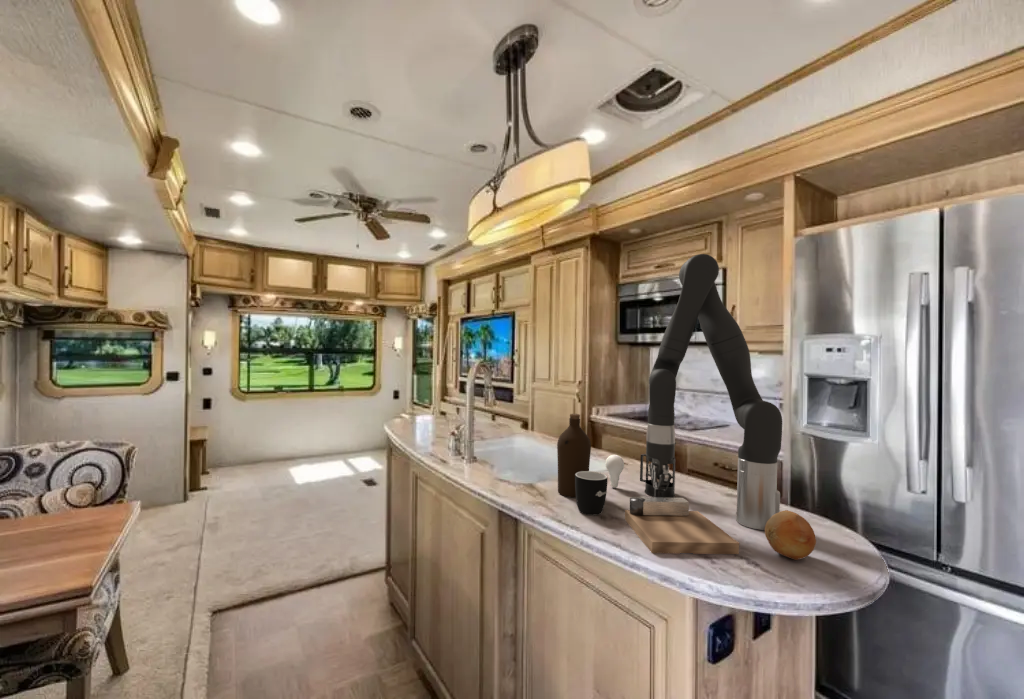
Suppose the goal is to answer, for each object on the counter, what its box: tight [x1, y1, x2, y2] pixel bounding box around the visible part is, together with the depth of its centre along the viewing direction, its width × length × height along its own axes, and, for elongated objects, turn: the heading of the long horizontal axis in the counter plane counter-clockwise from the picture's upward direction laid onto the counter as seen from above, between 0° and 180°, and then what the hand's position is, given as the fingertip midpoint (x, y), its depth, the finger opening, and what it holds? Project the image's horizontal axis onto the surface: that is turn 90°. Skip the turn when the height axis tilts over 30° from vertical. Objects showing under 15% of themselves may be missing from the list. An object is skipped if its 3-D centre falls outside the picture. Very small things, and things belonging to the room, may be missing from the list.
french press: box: [639, 441, 677, 498], centre depth 143 cm, size 12×9×23 cm
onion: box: [764, 509, 817, 561], centre depth 99 cm, size 10×10×10 cm
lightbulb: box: [605, 454, 625, 489], centre depth 147 cm, size 6×6×11 cm
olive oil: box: [556, 413, 592, 498], centre depth 140 cm, size 11×11×25 cm
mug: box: [575, 470, 609, 516], centre depth 125 cm, size 12×9×10 cm
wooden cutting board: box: [624, 509, 740, 555], centre depth 109 cm, size 20×20×2 cm
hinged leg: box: [629, 496, 690, 516], centre depth 117 cm, size 15×4×4 cm, turn 93°
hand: (658, 502), depth 123 cm, fingers closed
